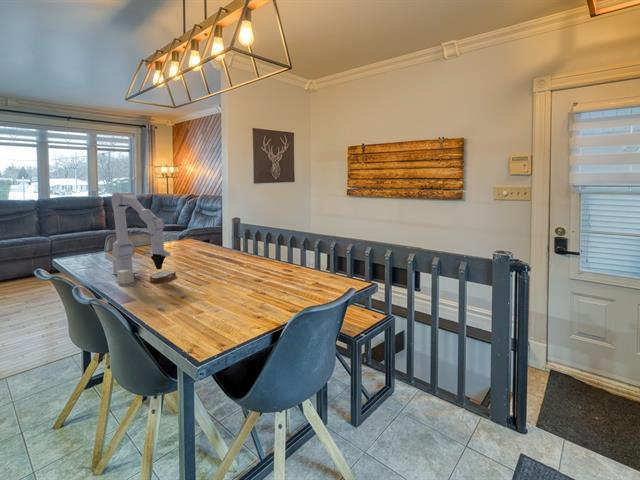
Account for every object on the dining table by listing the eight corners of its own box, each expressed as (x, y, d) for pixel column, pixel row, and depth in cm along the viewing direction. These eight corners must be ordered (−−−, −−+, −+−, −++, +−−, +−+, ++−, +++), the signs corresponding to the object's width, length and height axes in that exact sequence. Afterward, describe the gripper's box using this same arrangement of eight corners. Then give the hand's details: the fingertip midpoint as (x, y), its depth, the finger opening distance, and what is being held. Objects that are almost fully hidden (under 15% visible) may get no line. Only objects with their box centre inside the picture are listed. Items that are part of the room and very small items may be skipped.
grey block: (117, 283, 176) (116, 271, 175) (127, 280, 181) (126, 268, 180) (124, 284, 174) (123, 272, 173) (133, 281, 179) (133, 270, 178)
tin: (146, 282, 177) (161, 284, 176) (146, 276, 177) (161, 278, 175) (165, 274, 192) (179, 276, 190) (165, 269, 191) (179, 271, 190)
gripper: (140, 242, 179) (142, 269, 181) (161, 245, 173) (163, 272, 175) (152, 240, 185) (153, 266, 188) (172, 242, 179) (174, 269, 182)
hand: (159, 269), depth 182 cm, fingers closed
